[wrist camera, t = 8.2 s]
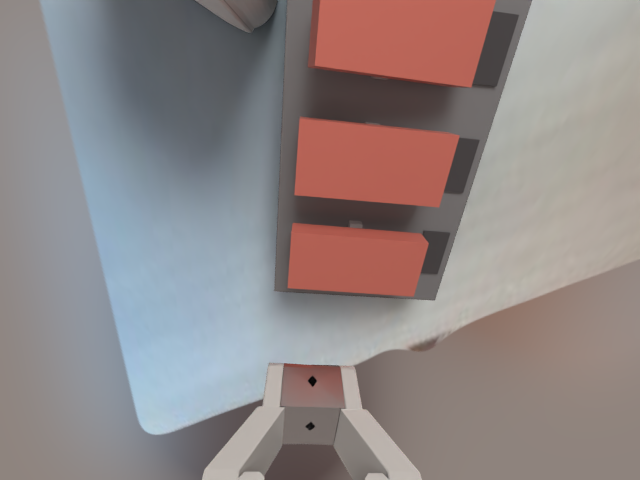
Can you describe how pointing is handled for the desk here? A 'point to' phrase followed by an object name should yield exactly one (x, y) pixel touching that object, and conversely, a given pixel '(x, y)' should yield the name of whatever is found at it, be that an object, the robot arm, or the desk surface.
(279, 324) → the desk surface
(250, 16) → the photo printer
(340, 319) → the desk surface
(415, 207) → the rocker switch panel
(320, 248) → the block
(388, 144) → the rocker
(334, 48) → the block
